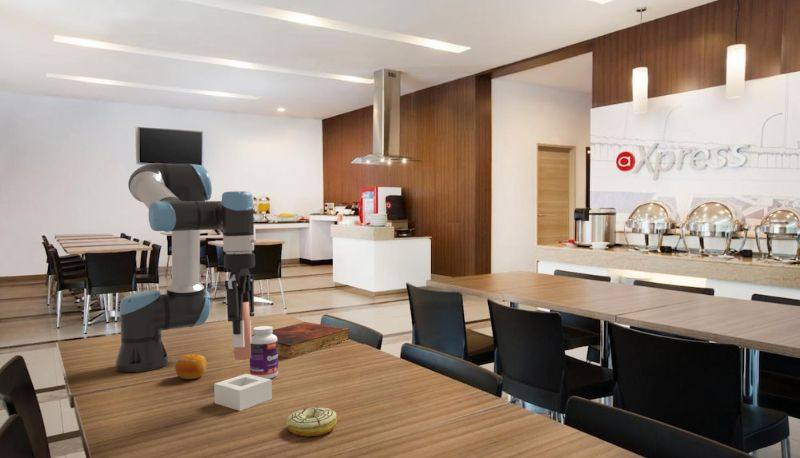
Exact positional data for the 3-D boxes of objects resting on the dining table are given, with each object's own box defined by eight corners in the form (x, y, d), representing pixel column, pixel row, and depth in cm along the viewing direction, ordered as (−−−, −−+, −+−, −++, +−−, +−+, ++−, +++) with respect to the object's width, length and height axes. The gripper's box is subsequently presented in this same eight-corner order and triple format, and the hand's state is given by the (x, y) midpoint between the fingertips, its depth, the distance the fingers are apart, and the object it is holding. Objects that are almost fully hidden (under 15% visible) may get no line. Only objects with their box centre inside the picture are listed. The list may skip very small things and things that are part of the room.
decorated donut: (302, 418, 127) (302, 402, 127) (344, 423, 123) (344, 406, 123) (278, 435, 117) (278, 418, 117) (323, 441, 113) (323, 423, 113)
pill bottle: (271, 381, 155) (269, 331, 154) (245, 380, 156) (243, 330, 156) (282, 373, 163) (281, 325, 162) (258, 372, 164) (256, 324, 164)
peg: (231, 358, 138) (229, 303, 137) (244, 355, 141) (242, 301, 141) (241, 360, 135) (239, 304, 135) (254, 357, 138) (252, 302, 138)
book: (305, 334, 217) (304, 322, 217) (350, 341, 203) (350, 328, 203) (244, 350, 193) (243, 336, 193) (291, 360, 179) (290, 345, 179)
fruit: (217, 363, 162) (200, 342, 161) (197, 381, 155) (179, 359, 154) (202, 372, 166) (186, 352, 165) (182, 390, 159) (165, 369, 158)
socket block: (214, 403, 137) (214, 383, 137) (246, 392, 146) (246, 373, 145) (240, 410, 132) (239, 390, 132) (272, 398, 140) (271, 379, 140)
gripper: (240, 254, 129) (243, 352, 129) (265, 250, 146) (268, 337, 146) (210, 255, 129) (213, 353, 130) (238, 250, 146) (241, 337, 147)
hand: (242, 344), depth 138 cm, fingers closed on peg, 4 cm apart
